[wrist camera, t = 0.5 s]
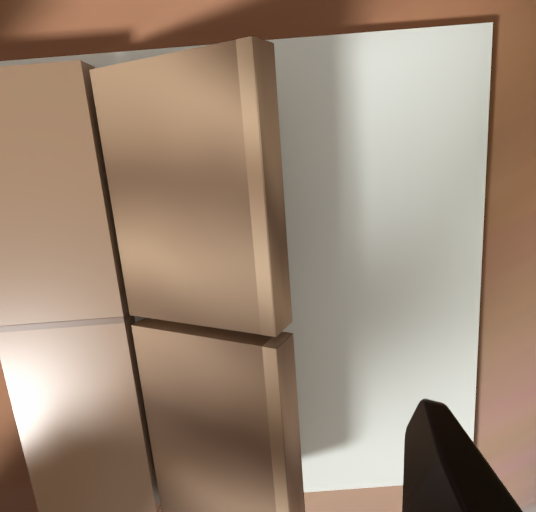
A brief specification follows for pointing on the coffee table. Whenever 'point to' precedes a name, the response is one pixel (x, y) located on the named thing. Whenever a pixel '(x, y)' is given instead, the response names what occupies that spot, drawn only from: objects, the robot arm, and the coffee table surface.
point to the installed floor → (299, 258)
